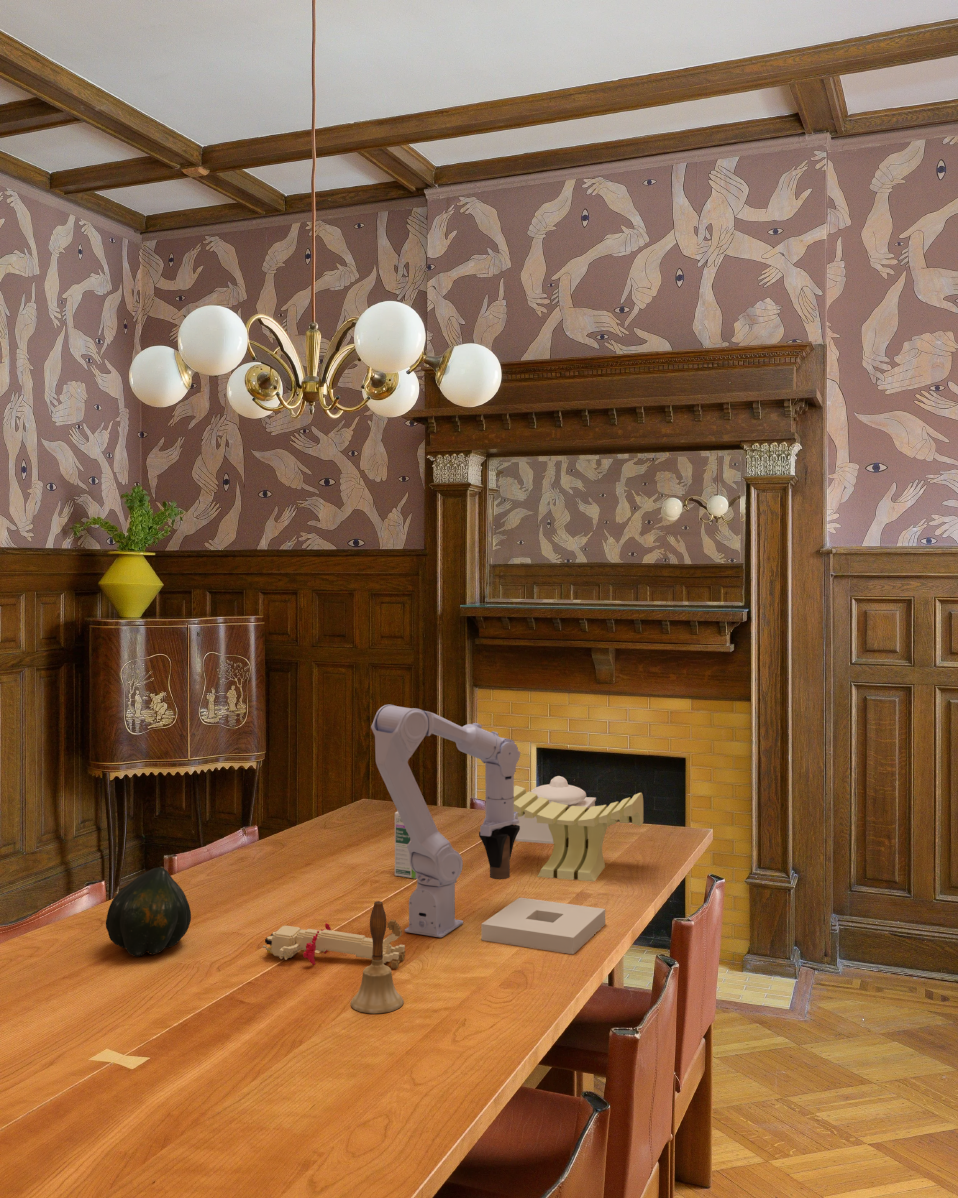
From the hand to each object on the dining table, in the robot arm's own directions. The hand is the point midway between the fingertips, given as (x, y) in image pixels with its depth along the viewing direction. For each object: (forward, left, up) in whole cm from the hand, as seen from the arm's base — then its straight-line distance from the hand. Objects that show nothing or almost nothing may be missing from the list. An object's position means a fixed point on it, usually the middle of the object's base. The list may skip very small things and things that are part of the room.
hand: (499, 864), depth 210 cm
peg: (0, 0, -2) cm, 2 cm away
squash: (-46, +49, -10) cm, 68 cm away
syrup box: (+16, +29, -10) cm, 34 cm away
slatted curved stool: (+35, -3, -10) cm, 36 cm away
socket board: (-8, -13, -9) cm, 18 cm away
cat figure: (-37, +16, -10) cm, 42 cm away
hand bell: (-51, -1, -10) cm, 52 cm away
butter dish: (+64, +12, -10) cm, 66 cm away
